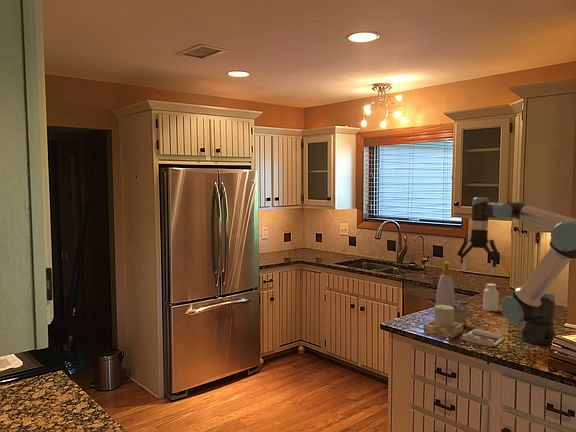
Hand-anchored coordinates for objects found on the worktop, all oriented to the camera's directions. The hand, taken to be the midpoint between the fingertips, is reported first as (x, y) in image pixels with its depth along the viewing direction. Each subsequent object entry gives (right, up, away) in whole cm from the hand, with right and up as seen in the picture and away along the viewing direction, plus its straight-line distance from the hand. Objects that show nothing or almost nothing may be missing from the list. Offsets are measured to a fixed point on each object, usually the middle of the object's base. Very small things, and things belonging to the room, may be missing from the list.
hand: (477, 271), depth 236 cm
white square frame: (-3, -30, -14) cm, 33 cm away
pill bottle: (+23, -27, +38) cm, 52 cm away
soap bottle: (0, -26, +48) cm, 54 cm away
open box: (-18, -29, -4) cm, 34 cm away
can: (-18, -28, -4) cm, 34 cm away
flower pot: (-7, -28, +9) cm, 31 cm away
